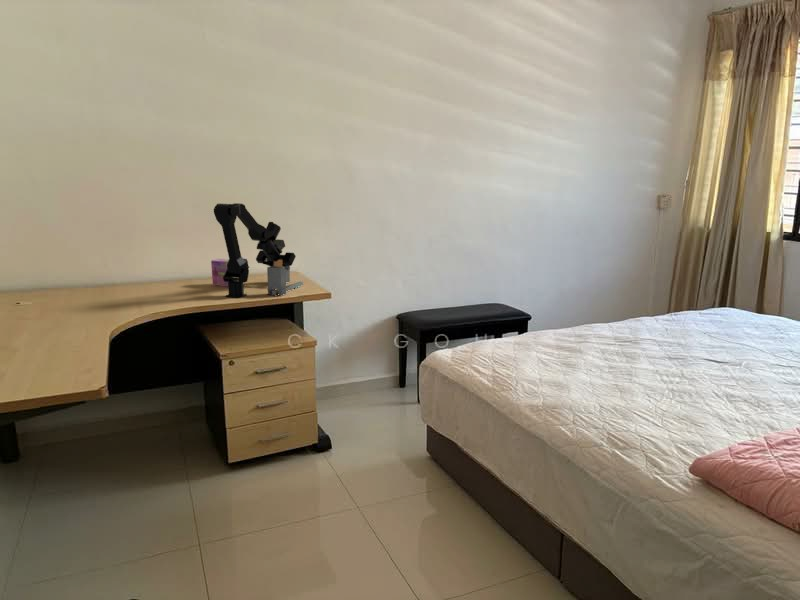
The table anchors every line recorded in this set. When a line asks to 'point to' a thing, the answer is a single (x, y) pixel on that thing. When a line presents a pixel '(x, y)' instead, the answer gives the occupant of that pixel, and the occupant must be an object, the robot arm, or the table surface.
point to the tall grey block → (276, 279)
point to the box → (219, 271)
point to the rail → (288, 287)
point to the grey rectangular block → (287, 272)
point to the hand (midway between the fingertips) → (283, 268)
